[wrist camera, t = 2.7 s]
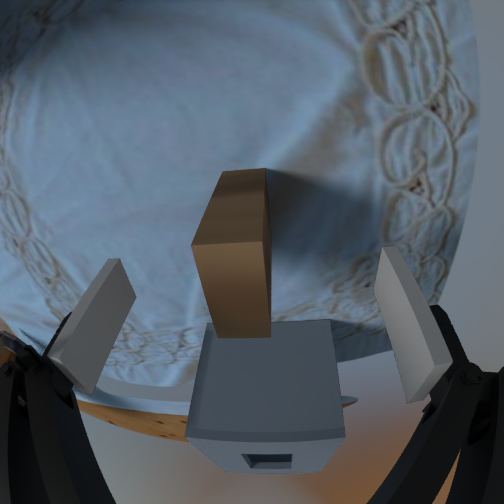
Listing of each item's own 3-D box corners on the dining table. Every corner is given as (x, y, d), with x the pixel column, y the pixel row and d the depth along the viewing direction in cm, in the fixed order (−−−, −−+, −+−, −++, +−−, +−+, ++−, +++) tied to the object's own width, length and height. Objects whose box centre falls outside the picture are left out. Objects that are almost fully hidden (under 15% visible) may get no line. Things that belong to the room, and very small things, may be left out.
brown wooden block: (222, 171, 17) (190, 245, 10) (265, 168, 16) (262, 241, 10) (234, 245, 20) (217, 338, 13) (271, 244, 20) (271, 337, 13)
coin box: (207, 323, 25) (184, 436, 16) (329, 319, 24) (345, 437, 15) (233, 397, 34) (225, 471, 25) (315, 395, 33) (319, 471, 24)
